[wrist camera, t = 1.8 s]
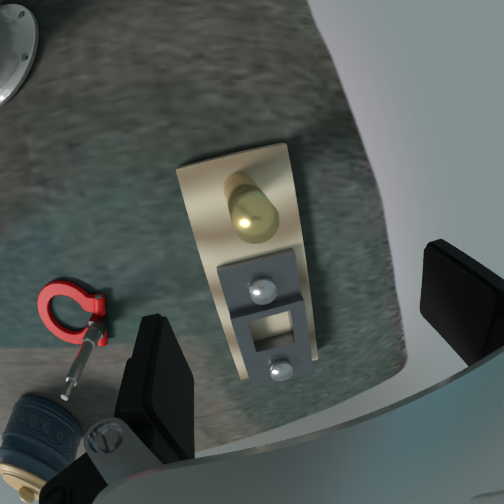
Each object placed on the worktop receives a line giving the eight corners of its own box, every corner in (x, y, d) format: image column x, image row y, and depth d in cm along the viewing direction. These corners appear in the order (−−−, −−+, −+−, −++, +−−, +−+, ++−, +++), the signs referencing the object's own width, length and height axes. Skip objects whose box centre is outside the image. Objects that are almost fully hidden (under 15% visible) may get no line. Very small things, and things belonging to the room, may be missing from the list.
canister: (13, 414, 38) (-13, 489, 22) (21, 381, 35) (-16, 469, 19) (73, 447, 43) (58, 524, 27) (91, 420, 40) (73, 513, 24)
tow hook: (46, 330, 33) (110, 345, 34) (3, 401, 21) (80, 427, 22) (37, 272, 30) (107, 286, 31) (-22, 337, 18) (63, 365, 19)
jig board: (177, 167, 28) (175, 169, 26) (282, 142, 28) (286, 143, 27) (239, 371, 38) (241, 379, 37) (314, 351, 39) (318, 359, 38)
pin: (219, 176, 27) (228, 205, 18) (250, 169, 27) (275, 194, 18) (226, 206, 28) (238, 248, 19) (257, 198, 28) (283, 237, 19)
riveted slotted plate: (216, 266, 30) (217, 281, 28) (292, 247, 31) (300, 260, 28) (250, 377, 37) (253, 394, 34) (309, 361, 37) (316, 377, 35)
